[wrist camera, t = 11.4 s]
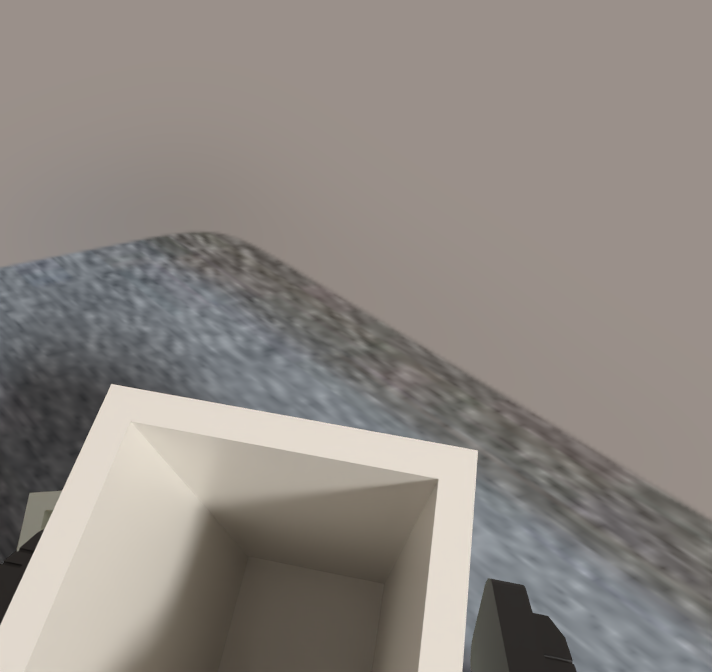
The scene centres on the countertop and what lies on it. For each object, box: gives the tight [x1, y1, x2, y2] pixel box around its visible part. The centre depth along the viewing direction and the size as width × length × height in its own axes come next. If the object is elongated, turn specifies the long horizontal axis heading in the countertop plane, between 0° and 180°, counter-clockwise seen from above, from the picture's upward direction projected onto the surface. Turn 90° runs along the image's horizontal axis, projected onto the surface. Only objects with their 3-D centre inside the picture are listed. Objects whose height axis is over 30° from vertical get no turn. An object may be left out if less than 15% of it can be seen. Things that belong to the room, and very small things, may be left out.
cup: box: [0, 384, 478, 672], centre depth 12 cm, size 5×5×12 cm
